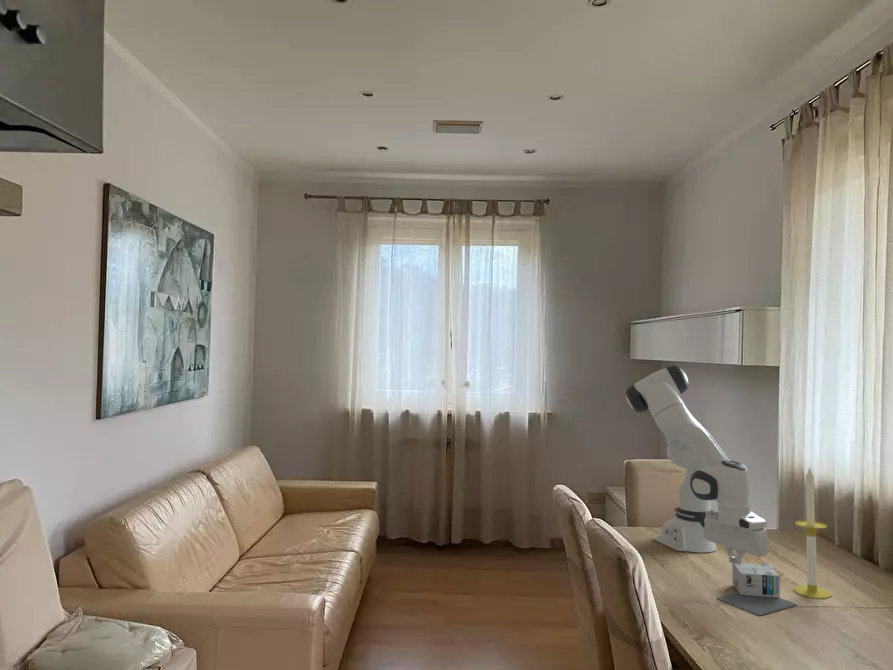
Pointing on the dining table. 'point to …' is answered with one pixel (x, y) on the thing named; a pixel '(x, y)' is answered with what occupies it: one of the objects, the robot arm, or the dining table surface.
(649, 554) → the dining table surface
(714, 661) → the dining table surface
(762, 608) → the mat
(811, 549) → the candle
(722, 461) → the robot arm
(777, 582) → the light bulb box
